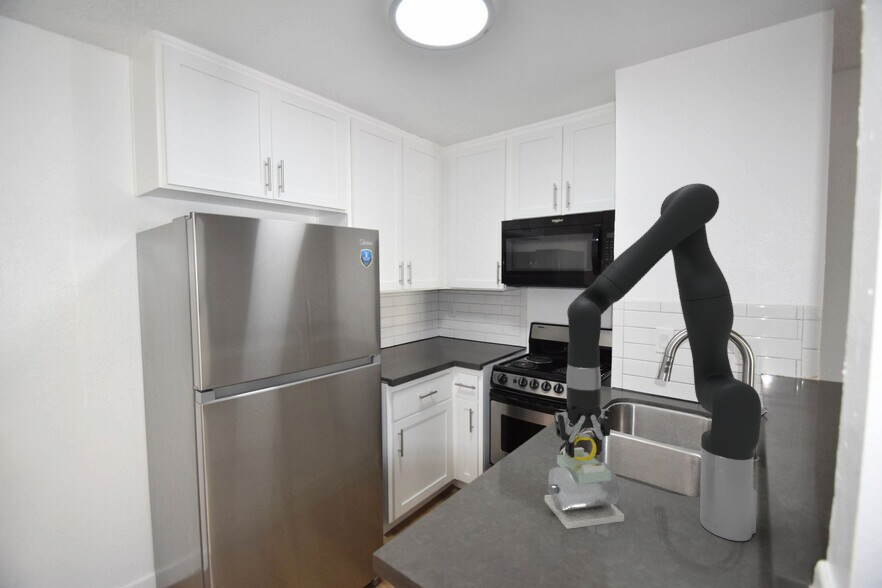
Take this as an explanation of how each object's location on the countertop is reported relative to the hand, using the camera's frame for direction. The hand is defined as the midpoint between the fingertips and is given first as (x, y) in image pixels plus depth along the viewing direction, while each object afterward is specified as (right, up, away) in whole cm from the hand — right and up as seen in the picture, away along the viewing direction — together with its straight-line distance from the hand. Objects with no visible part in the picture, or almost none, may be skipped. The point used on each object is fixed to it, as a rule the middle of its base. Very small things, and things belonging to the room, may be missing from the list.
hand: (583, 454), depth 92 cm
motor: (0, -13, +1) cm, 13 cm away
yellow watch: (0, -1, 0) cm, 1 cm away
